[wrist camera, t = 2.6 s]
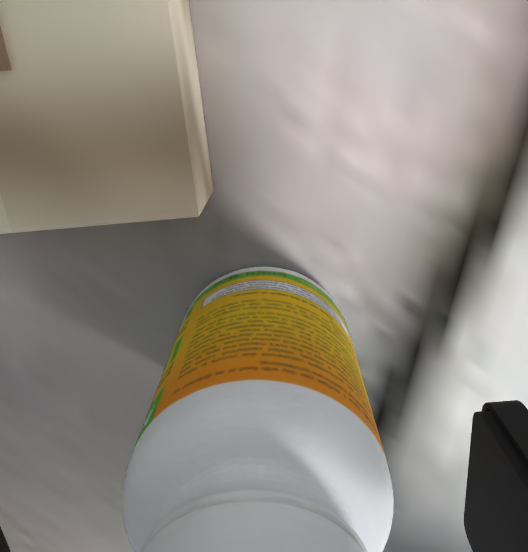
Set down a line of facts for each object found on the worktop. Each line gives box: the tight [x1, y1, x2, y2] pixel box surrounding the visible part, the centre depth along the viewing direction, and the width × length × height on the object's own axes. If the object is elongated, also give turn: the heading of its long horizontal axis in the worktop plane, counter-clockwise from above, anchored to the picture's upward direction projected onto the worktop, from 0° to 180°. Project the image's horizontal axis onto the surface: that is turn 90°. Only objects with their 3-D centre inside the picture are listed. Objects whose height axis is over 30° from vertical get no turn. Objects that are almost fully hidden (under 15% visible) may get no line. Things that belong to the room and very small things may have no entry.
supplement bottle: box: [122, 267, 394, 552], centre depth 12 cm, size 5×5×10 cm
